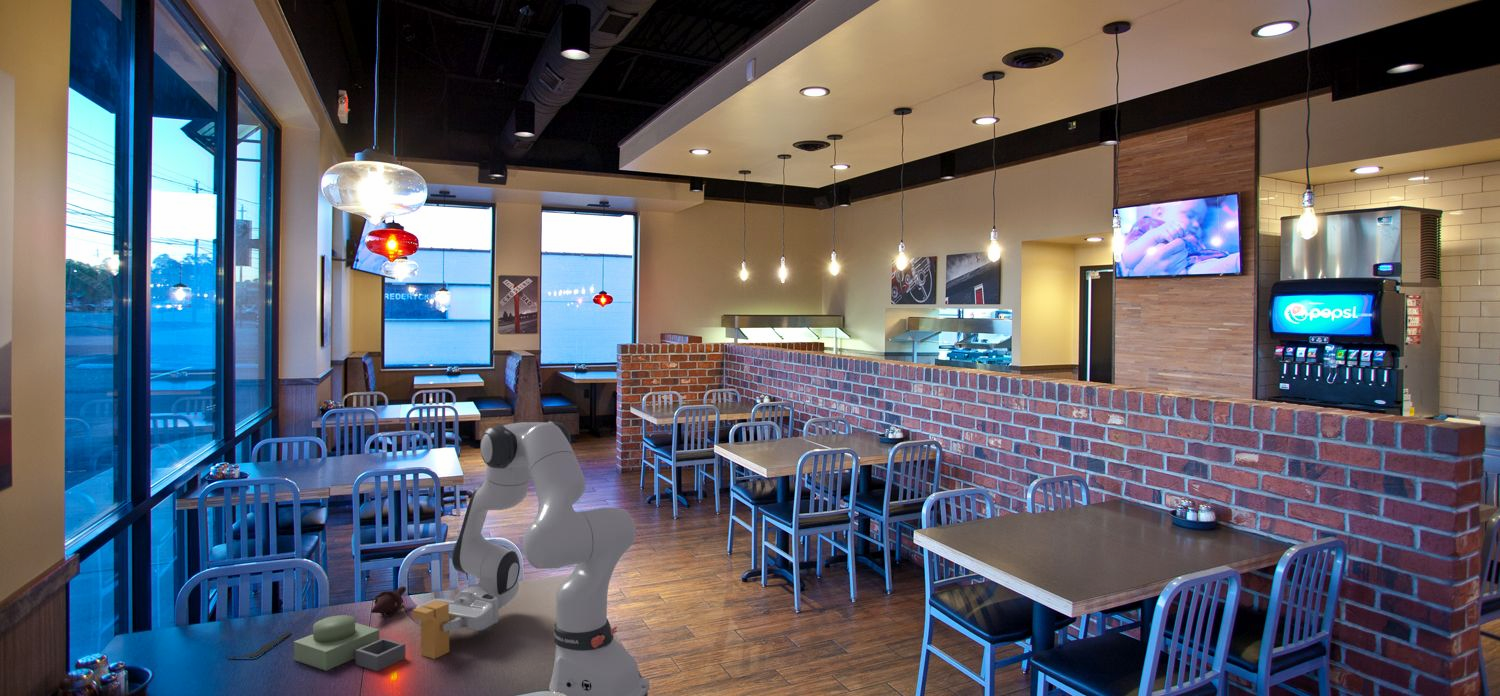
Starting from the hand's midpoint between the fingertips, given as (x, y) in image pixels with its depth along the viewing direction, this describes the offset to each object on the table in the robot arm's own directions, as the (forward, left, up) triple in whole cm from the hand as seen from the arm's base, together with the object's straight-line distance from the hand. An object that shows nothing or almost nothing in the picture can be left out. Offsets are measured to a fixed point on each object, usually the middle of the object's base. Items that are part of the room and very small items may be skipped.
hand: (432, 626), depth 185 cm
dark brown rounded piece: (+31, -12, -7) cm, 34 cm away
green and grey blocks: (+16, +10, -7) cm, 20 cm away
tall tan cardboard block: (0, 0, -7) cm, 7 cm away
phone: (+42, +16, -8) cm, 46 cm away
